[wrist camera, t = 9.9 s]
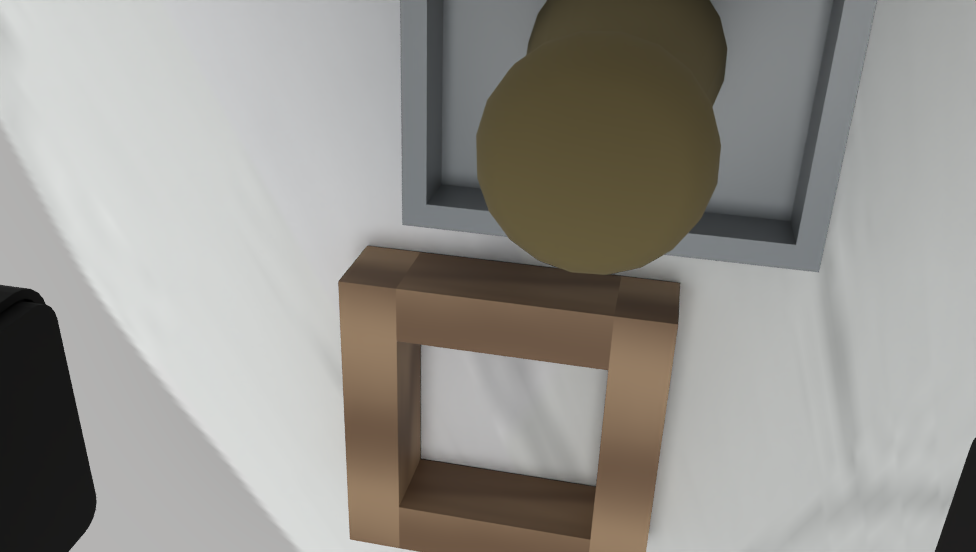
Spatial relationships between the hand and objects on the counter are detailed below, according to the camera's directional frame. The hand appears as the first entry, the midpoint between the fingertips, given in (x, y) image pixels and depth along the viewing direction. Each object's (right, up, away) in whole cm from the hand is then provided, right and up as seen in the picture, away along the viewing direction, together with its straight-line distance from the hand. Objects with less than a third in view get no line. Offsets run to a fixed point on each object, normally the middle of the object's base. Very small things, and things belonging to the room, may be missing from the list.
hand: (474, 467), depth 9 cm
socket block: (+1, -3, +25) cm, 25 cm away
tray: (+4, +9, +19) cm, 21 cm away
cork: (+4, +9, +19) cm, 21 cm away
